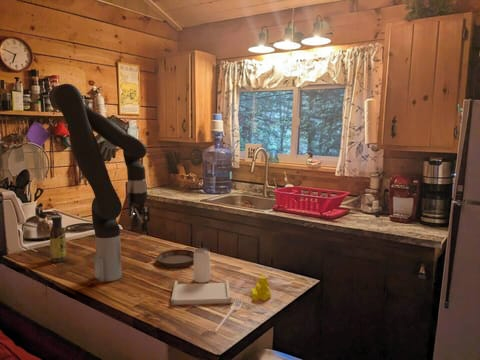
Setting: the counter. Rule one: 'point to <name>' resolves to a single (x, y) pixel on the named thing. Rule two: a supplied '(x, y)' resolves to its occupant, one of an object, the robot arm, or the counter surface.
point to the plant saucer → (176, 258)
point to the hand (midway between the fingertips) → (139, 229)
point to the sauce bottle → (57, 240)
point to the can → (201, 265)
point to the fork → (230, 312)
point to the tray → (201, 294)
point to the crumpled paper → (261, 289)
